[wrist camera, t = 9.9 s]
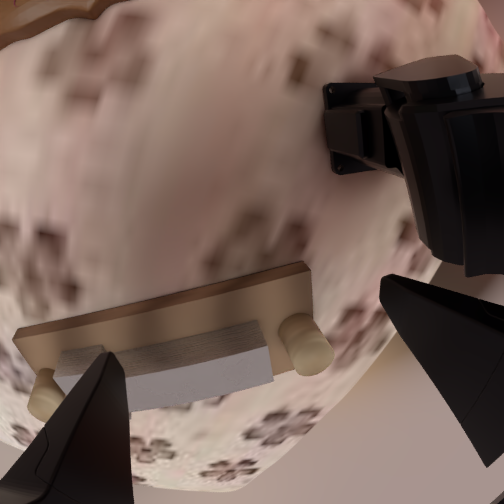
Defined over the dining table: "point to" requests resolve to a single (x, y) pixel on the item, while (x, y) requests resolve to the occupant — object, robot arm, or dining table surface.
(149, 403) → the grey stepped block
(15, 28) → the plant
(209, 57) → the dining table surface
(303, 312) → the peg rack
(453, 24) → the dining table surface
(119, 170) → the dining table surface
